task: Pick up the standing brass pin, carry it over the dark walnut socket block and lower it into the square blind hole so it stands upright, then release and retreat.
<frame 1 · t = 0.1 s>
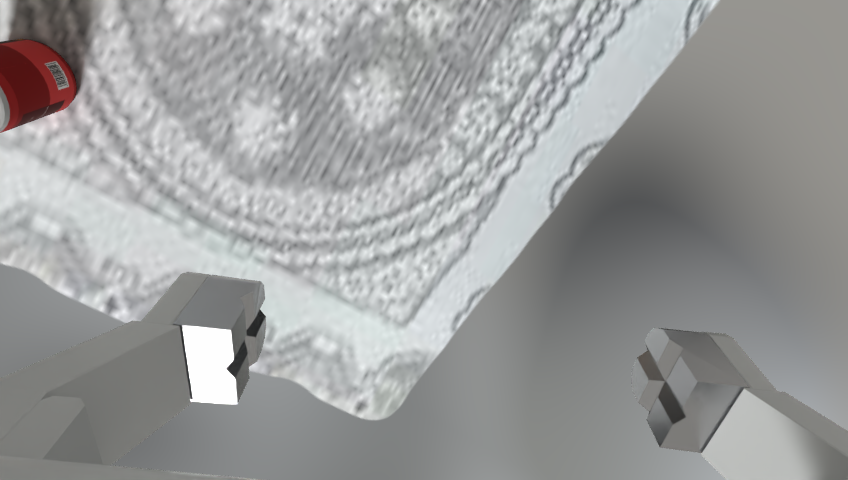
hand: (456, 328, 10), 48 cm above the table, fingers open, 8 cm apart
canned food: (44, 74, 54), on the table
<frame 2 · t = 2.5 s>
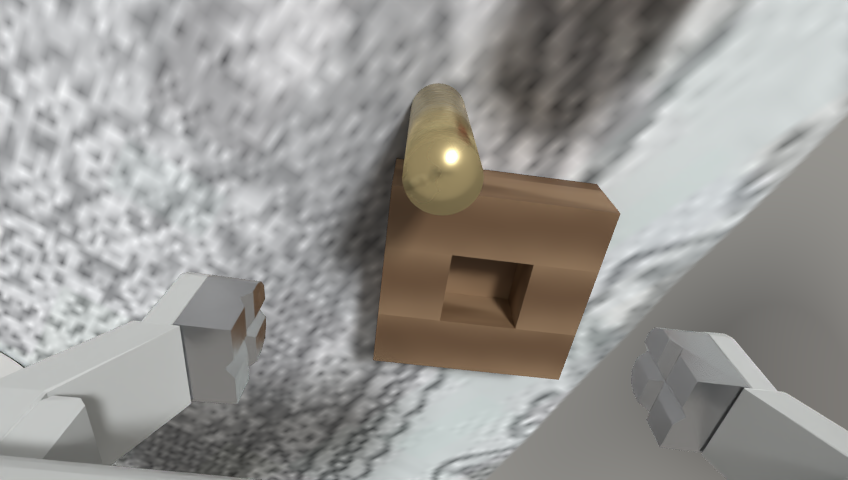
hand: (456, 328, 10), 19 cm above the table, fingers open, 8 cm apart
socket block: (478, 257, 31), on the table
pin: (438, 111, 26), on the table
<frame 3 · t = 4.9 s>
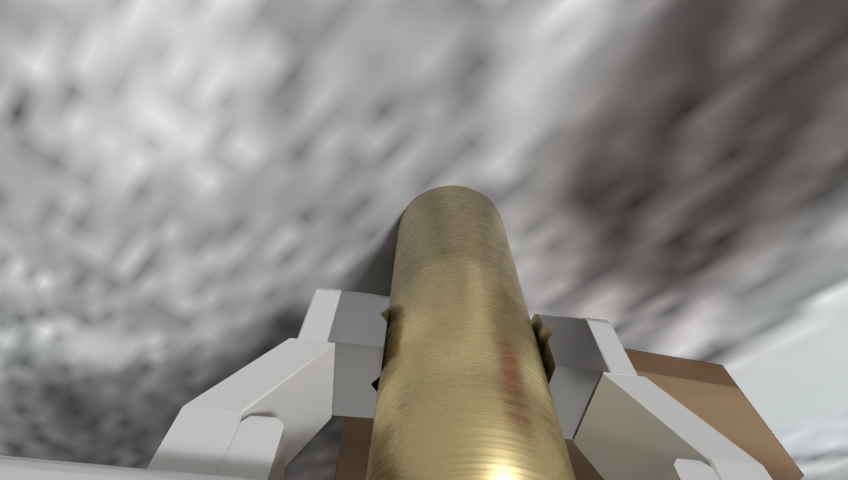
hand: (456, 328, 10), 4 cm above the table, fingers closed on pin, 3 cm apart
socket block: (499, 454, 18), on the table
pin: (450, 234, 14), on the table, touching gripper
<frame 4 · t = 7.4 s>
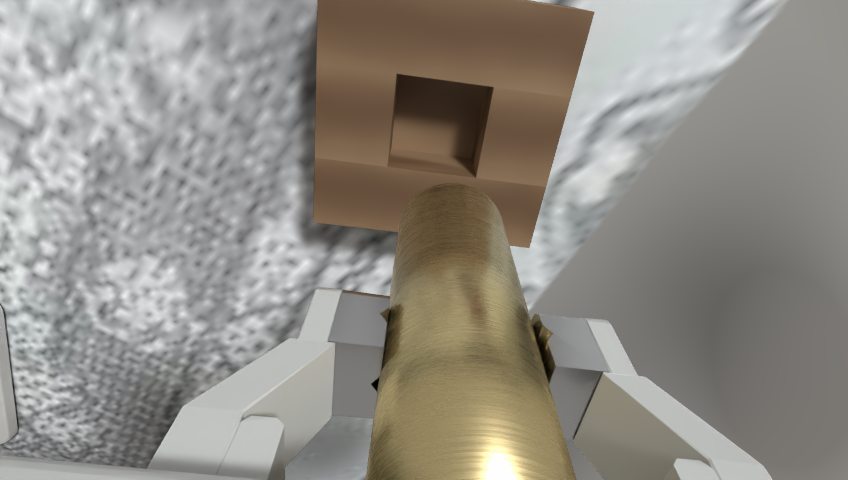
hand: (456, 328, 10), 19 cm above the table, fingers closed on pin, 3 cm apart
socket block: (437, 108, 27), on the table
pin: (450, 231, 14), point 15 cm above the table, touching gripper
when the fingers open (6 cm above the table, at t = 10.1 s): pin stays where it is, resting on socket block.
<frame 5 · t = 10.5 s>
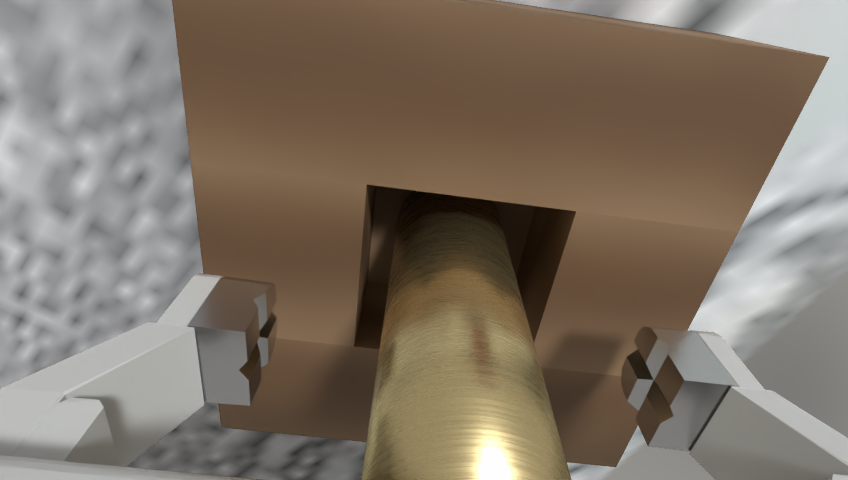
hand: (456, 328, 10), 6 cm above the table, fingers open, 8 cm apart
socket block: (449, 212, 15), on the table
pin: (448, 226, 14), point 1 cm above the table, touching socket block
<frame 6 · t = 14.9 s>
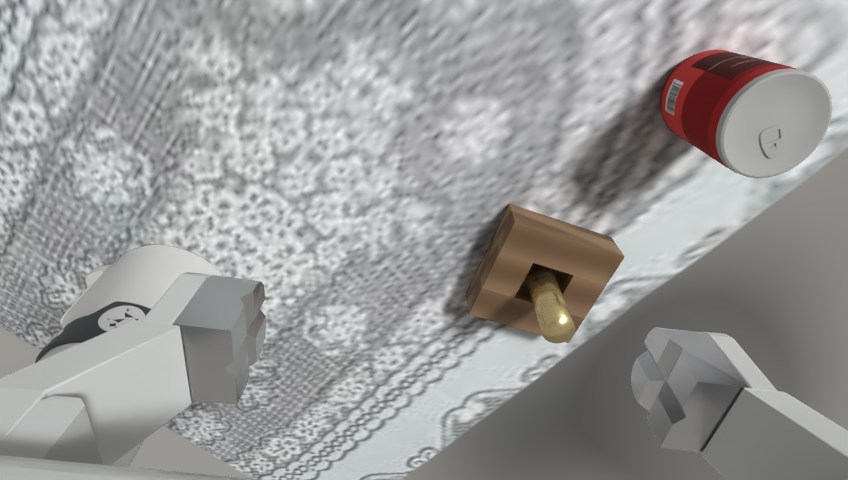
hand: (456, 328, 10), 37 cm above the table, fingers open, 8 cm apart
socket block: (536, 266, 53), on the table
pin: (537, 270, 52), point 1 cm above the table, touching socket block
canned food: (699, 93, 44), on the table
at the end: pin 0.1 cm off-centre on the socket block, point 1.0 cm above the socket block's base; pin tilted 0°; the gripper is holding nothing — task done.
